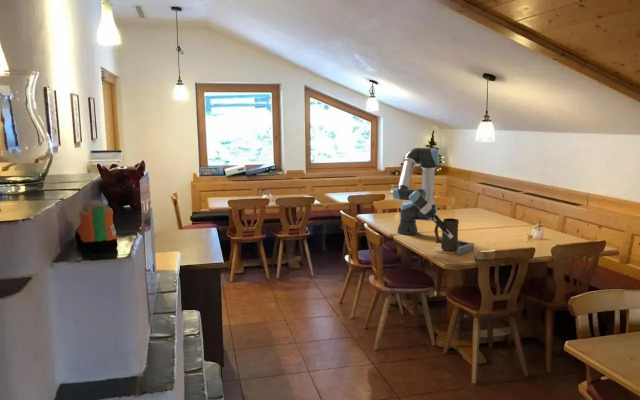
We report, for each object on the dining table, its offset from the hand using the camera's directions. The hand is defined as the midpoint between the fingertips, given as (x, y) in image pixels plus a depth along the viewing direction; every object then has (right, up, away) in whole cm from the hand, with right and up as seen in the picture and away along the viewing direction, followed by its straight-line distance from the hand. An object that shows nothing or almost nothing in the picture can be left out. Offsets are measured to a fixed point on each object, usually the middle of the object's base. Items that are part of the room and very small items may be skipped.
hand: (451, 235), depth 332 cm
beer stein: (-3, -9, +2) cm, 10 cm away
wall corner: (+1, -10, +3) cm, 10 cm away
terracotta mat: (-3, -10, +2) cm, 11 cm away
